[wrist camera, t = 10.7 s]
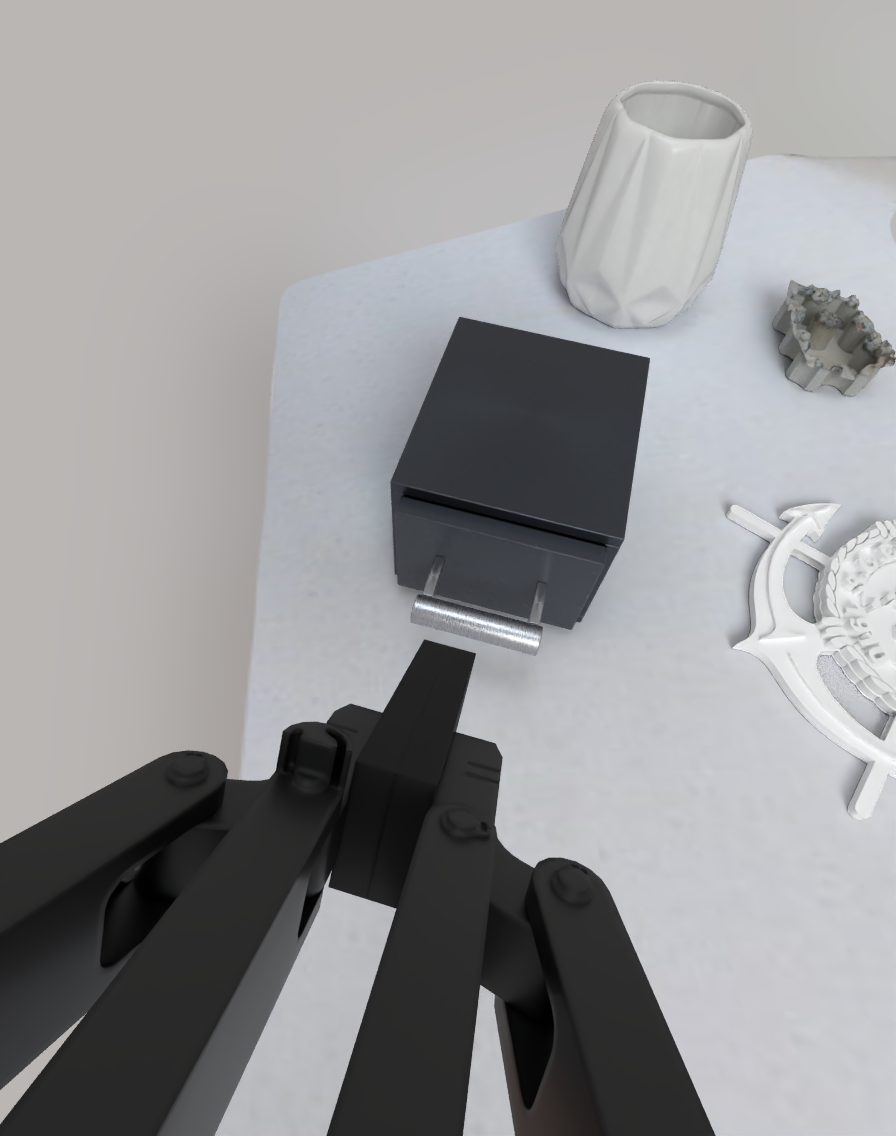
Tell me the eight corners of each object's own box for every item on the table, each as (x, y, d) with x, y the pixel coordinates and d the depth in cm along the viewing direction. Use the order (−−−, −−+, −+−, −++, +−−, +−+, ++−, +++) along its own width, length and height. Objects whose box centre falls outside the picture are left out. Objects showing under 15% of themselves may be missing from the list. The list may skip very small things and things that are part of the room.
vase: (564, 344, 54) (612, 156, 41) (536, 250, 61) (570, 65, 48) (716, 341, 55) (810, 157, 42) (672, 249, 62) (740, 69, 49)
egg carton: (869, 403, 52) (902, 364, 48) (780, 389, 52) (806, 350, 49) (847, 323, 57) (876, 283, 54) (767, 311, 58) (790, 271, 54)
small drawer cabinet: (580, 622, 40) (624, 539, 31) (394, 574, 41) (390, 482, 33) (609, 459, 47) (650, 357, 39) (451, 422, 48) (459, 316, 40)
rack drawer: (560, 694, 36) (593, 637, 29) (375, 643, 37) (367, 578, 30) (600, 471, 45) (632, 390, 39) (451, 436, 46) (458, 351, 40)
